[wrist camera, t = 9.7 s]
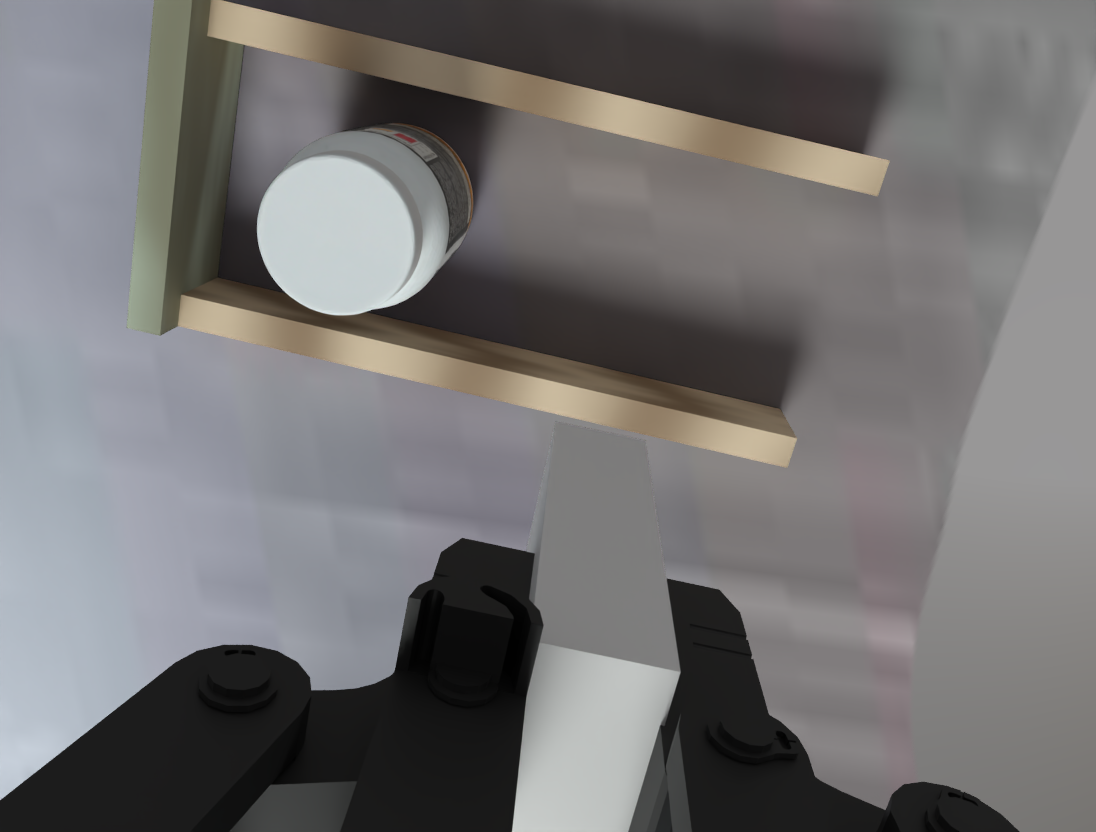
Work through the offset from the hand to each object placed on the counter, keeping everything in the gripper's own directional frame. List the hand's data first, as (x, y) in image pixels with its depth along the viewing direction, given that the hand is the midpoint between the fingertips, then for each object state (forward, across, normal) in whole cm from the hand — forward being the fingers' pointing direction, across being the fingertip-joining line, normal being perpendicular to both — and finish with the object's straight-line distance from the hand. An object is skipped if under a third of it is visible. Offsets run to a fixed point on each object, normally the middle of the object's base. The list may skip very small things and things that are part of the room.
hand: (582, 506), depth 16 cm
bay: (+23, -3, +1) cm, 23 cm away
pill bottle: (+23, -8, +1) cm, 24 cm away
